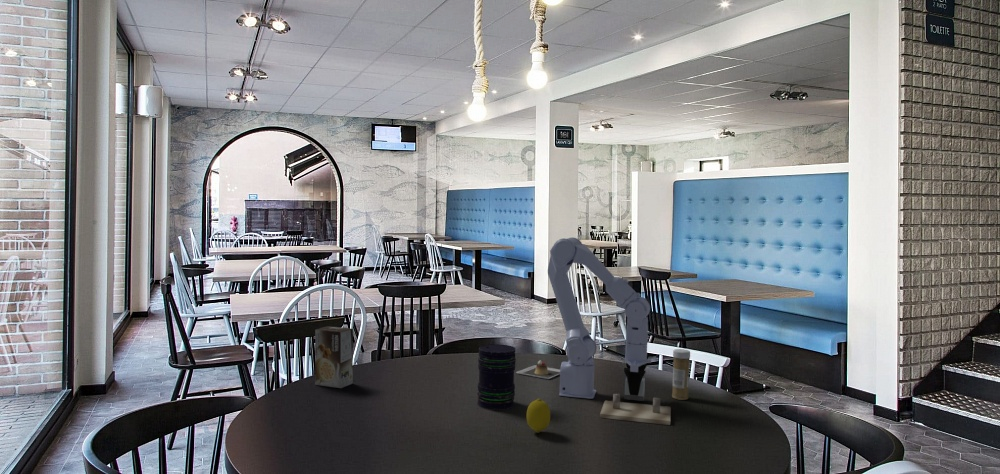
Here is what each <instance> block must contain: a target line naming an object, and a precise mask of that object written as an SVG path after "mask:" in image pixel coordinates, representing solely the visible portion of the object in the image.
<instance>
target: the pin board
mask: <svg viewBox="0 0 1000 474" xmlns="http://www.w3.org/2000/svg"><path fill="white" fill-rule="evenodd" d="M671 409H672V407H671V406H664V405H661V398H660V397H653V398H652V404H647V403H646V404H645V403H635V402H623V401H621V394H620V393H613V394H612V400H604V402H603V405H602V407H601V411H600V412H599V413H600V414H599V418H601V419H608V420H619V421H627V422H628V421H629V422H637V423H648V424H655V425H656V424H657V425H666V426H667V425H668V426H670V425H671V417H672V416H671V414H672V413H671V411H672V410H671Z"/></svg>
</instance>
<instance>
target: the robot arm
mask: <svg viewBox="0 0 1000 474" xmlns="http://www.w3.org/2000/svg"><path fill="white" fill-rule="evenodd" d="M549 253H550V257H549V260H548V261H549V262H548V266H547V275H548V278H549V282H550V285H551V288H552V291H553V294H554V297H555V301H556V303H557V306H558V309H559V313H560V316H561V319H562V322H563V325H564V329H565V331H566V332H565V333H566V334H565V343H566V346H567V347H566V356H567V359H568V361H562V362H561V365H560V368H559V369H560V372H559V373H560V375H559V391H558V392H559V394H558V396H560V397H570V398H581V399H588V400H589V399H590V400H591V399H594V398H595V395H596V393H597V390H596V389H595V388H594V387H595V385H594V384H595V383H594V382H595V360H594V358H593V357H594V356H595V355H596V352H597V350H598V347H597V343H596V342H595V340H594V339H593V338H592V337H591V335H590V333H589V331H588V329H587V328H586V327H585V325H584V321H583V319H582V314H581V313H580V310H579V306H578V304H577V301H576V297H575V294H574V291H573V288H572V285H571V281H570V277H569V276H568V272H569V271H570V269H571V267H572V265H573V264H578V265H583V266H585V267H586V268H587V269H588V270H589V271H591V273H593V274H594V275H595V276H596V277H597V278H598V280H600V281H601V283H603V284H604V285H605V292H606V293H607V294H608V296H610V297H611V298H612V299H613V300H614V301H615V303H616V304H617V305H619V306H620V308H622V309H624V314H625V316H626V320H627V321H626V329H625V330H626V331H625V350H624V351H625V352H624V353H625V356H624V362H625V366H626V367H623V368H624V369H623V372H624V374H625V378H626V377H627V380H628V386H629V392H630V395H636V396H638V394H639V389H640V384H641V381H642V378H644V376H645V374H646V369H647V366H648V364H651V363H652V359H650V358H648V340H649V339H648V336H649V335H648V334H649V325H648V322H649V320H648V319H649V317H648V315H649V313H650V311H651V305H650V303H649V301H648V299H647V298H646V297H643V296H641V293H640V292H636V291H635V289H634V288H632V287H631V285H630V284H629V280H628V279H627V278H624V279H623V278H622V277H621V276H614V275H613V274H612V273H611V271H609V270H608V268H607V267H606V266H605V265H604V263H602V261H600V259H599V258H598V257H597V256H596V255H595V254H594V253H593V252H592V250H590V248H589V247H588V245H585V244H583V243H582V241H581V239H578V238H577V237H568V238H560V239H558V240H556V241H555V242H554V244H553V246H552V247H551V248H550V250H549Z"/></svg>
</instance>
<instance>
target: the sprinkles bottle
mask: <svg viewBox="0 0 1000 474" xmlns="http://www.w3.org/2000/svg"><path fill="white" fill-rule="evenodd" d="M690 351H691V350H688V349H685V348H684V349H682V348H677V349H673V351H672V352H673V353H672V356H673V363H672V364H673V368H672V394H671V398H673V399H674V400H679V401H685V400H688V399H689V398H690V397H689V386H690V359H691V352H690Z"/></svg>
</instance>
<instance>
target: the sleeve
mask: <svg viewBox="0 0 1000 474" xmlns="http://www.w3.org/2000/svg"><path fill="white" fill-rule="evenodd" d="M645 382H646V377H643V378H642V381H641V384H640V389H639V394H638V396H636V395H630V392H629V386H628V380H627V377H626V376H625V380H624V396H623V397H624V398H623V399H624V400H630V401H631V400H632V401H640V402H641V401H642V402H644V401H645V400H644V399H645V386H646V385H645V384H646V383H645Z"/></svg>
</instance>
